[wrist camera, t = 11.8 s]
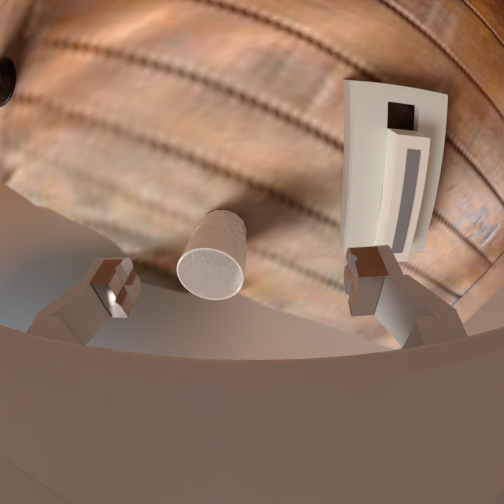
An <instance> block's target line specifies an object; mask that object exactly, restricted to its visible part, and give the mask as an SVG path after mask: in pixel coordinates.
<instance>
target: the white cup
mask: <svg viewBox="0 0 504 504" xmlns="http://www.w3.org/2000/svg"><path fill="white" fill-rule="evenodd" d="M246 234H247V229H246V227H245V224H244V221H243V220H242V219H241V218H240V217H239V216H238V215H237V214H236V213H233V212H230V211H228V210H214V211H212V212H210V213H208V214H206V215H205V217H204V218H203V219H202V221H201V222H200V224H199V226H198V227H197V228H196V230H195V232H194V233H193V235H192V237H191V239H190V240H189V242H188V244H187V246H186V248H185V250H184V252H183V254H182V256H181V258H180V260H179V262H178V264H177V274H178V278H179V280H180V282H181V283H182V284H183V286H184V287H185V288H186V289H187V290H189V291H190V292H191V293H193V294H195V295H197V296H199V297H202V298H205V299H210V300H221V299H226V298H229V297H232V296H233V295H235V294H236V293H238V292H239V290H240V289H241V288H242V286H243V283H244V274H245V262H246Z"/></svg>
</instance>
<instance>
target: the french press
mask: <svg viewBox="0 0 504 504" xmlns="http://www.w3.org/2000/svg"><path fill="white" fill-rule="evenodd" d="M0 76H1V86H0V107H2V106H4V105H5V104H6V103H7V102H8V101H9V99H10V98H11V96H12V93H13V90H14V86H15V80H16V72H15V66H14V64H13V62H12V60H11V59H10V58H8V57H3V58H0Z"/></svg>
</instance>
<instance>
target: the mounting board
mask: <svg viewBox="0 0 504 504" xmlns="http://www.w3.org/2000/svg"><path fill="white" fill-rule="evenodd" d="M343 91H344V163H343V187H342V204H341V219H340V231H339V240H340V243H341V246H342V249H343V253H344V255H346V253H347V249H348V247H367V246H374V244H375V239H376V233H377V226H378V220H379V213H380V204H381V196H382V187H383V181H384V171H385V159H386V146H387V119H388V102H396V103H403V104H410V105H415V112H414V130H413V131H418V132H420V133H422V134H424V135H426V136H427V137H429V138H430V148H429V157H428V164H427V171H426V178H425V184H424V190H423V196H422V201H421V206H420V211H419V216H418V221H417V225H416V230H415V234H414V238H413V242H412V246H411V250H410V253H422V252H423V248H424V245H425V241H426V237H427V233H428V230H429V226H430V221H431V217H432V213H433V208H434V204H435V199H436V194H437V189H438V183H439V178H440V172H441V165H442V158H443V151H444V142H445V132H446V121H447V104H448V95H446V94H442V93H439V92H434V91H430V90H425V89H420V88H414V87H408V86H402V85H395V84H388V83H379V82H370V81H359V80H344V79H343Z"/></svg>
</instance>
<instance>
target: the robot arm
mask: <svg viewBox="0 0 504 504" xmlns="http://www.w3.org/2000/svg"><path fill="white" fill-rule="evenodd" d="M346 259H347V262H348V264H347V265H346V266H345V270H344V285H345V290H346V293H347V294H348V295H349V299H348V304H349V308H350V313H351V316H365V315H374V316H375V318H376V319H377V320H378V321H379V322H380V323H381V324H382V325H383V326H384V327H385V328H386V329H387V330H388V331H389V333H390V334H391V335H392V336H393V337H394V338H395V339H396V340H397V341H398V342H399V343H400V345H401V346H402V349H399V350H393V351H385V352H377V353H369V354H360V355H351V356H339V357H325V358H309V359H286V360H285V359H284V360H225V359H201V358H185V357H172V356H160V355H151V354H141V353H132V352H125V351H118V350H111V349H104V348H98V347H92V346H86V345H85V344H87V343H88V342H89V341H90V339H91V338H92V337H93V336H94V335H95V334H96V333H97V332H98V331H99V330H100V329H101V328H102V327H103V326H104V325H105V324H106V323H107V322H108V321H109V320H110V319H111V317H120V318H128V317H129V314H130V312H131V310H132V308H133V306H134V305H133V302H132V301H133V300H134V299H136V298H137V297H138V295H139V292H140V280H139V277H138V275H137V274H136V273H135V272H134V271H133V270H132V268H133V264H132V262H131V260H130V259H128V258H99V259H96V260H95V262H94V263H93V264H92V266H91V267H90V269H89V270H88V272H87V273H86V275H85V276H84V278H83V279H82V281H81V282H80V284H76V285H75V286H73V287H72V288H71V289H69V290H68V291H67V292H65V293H64V294H62V295H61V296H60V297H59V298H57V299H56V300H54V301H53V302H52V303H50V304H49V305H48V306H47V307H45V308H44V309H42V310H41V311H40V312H38V314H37V315H36V317H35V319H34V320H33V322H32V324H31V325H30V327H29V329H28V330H27V332H22V331H19V330H15V329H11V328H8V327H4V326H1V325H0V504H504V327H502V328H498V329H495V330H491V331H487V332H484V333H480V334H476V335H472V336H467V334H466V331H465V329H464V327H463V324H462V322H461V320H460V318H459V316H458V313H457V311H456V309H454V308H453V307H452V306H450V305H449V304H448V303H446V302H445V301H444V300H442V299H441V298H440V297H438V296H437V295H435V294H434V293H433V292H431V291H430V290H428V289H427V288H426V287H424V286H423V285H421V284H420V283H419V282H417V281H416V280H414V279H413V278H412V277H410V276H409V275H403V272H402V270H401V268H400V266H399V264H398V262H397V260H396V258H395V256H394V254H393V252H392V250H391V248H390V246H389V245H376V246H367V247H348V249H347V253H346Z"/></svg>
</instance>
